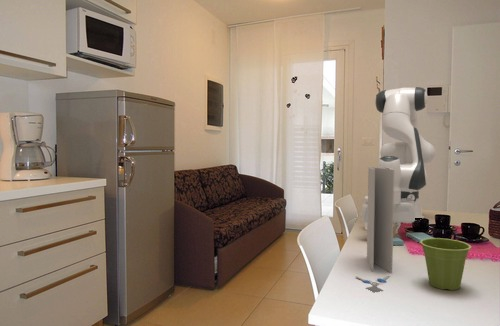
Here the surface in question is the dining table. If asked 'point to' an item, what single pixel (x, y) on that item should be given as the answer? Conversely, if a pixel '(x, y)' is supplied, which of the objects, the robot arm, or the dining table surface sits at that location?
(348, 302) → the dining table surface
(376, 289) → the blue grey flat piece
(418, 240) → the teal flat block
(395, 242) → the stub
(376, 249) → the brochure
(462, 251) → the plant pot
